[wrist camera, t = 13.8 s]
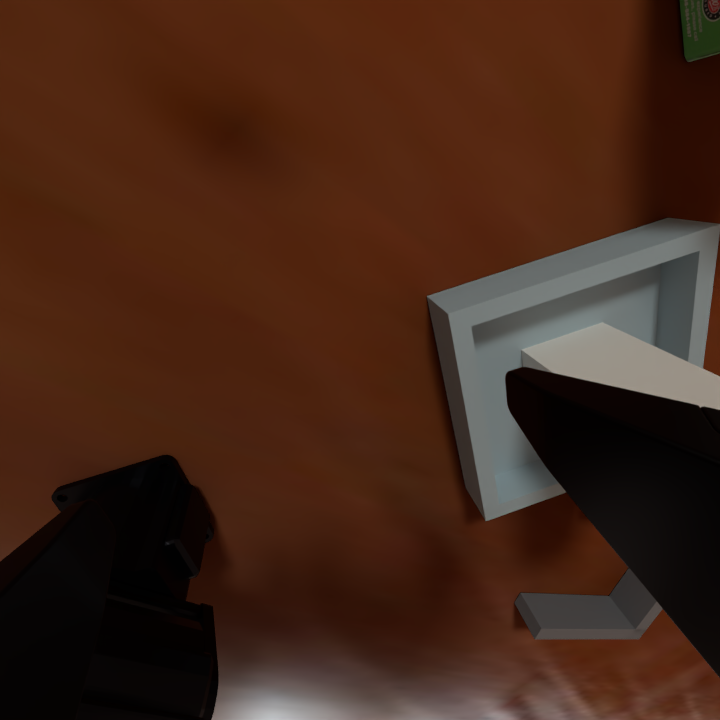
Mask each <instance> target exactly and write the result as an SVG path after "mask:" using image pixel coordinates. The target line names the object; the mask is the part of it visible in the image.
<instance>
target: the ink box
mask: <svg viewBox="0 0 720 720" xmlns="http://www.w3.org/2000/svg"><path fill="white" fill-rule="evenodd" d="M679 1H680V11H681V22H682V32H683V43H684V56H685V58H686V60H687V61H688V62H692V61H695V60H698V59H702V58H706V57H709V56H713V55H716V54H719V53H720V0H679Z"/></svg>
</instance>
